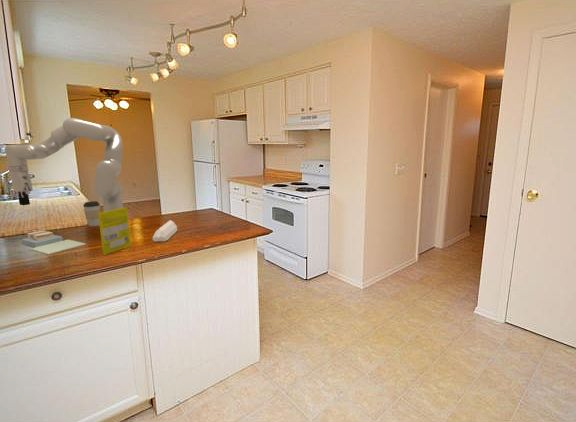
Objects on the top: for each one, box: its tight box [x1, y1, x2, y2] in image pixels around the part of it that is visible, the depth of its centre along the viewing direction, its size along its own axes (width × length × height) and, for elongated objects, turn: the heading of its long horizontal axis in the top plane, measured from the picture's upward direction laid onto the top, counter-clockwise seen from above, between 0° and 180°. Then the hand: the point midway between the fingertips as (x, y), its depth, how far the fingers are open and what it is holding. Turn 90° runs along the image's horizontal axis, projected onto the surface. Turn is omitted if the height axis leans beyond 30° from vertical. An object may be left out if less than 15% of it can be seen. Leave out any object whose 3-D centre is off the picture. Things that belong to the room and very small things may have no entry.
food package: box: [98, 206, 132, 256], centre depth 146 cm, size 15×1×20 cm, turn 159°
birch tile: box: [27, 230, 55, 241], centre depth 159 cm, size 10×7×2 cm
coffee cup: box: [83, 200, 101, 227], centre depth 195 cm, size 9×9×15 cm
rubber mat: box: [30, 239, 87, 255], centre depth 153 cm, size 16×17×1 cm
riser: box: [21, 234, 64, 248], centre depth 159 cm, size 14×12×2 cm
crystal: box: [152, 219, 178, 243], centre depth 171 cm, size 7×7×24 cm
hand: (24, 204), depth 161 cm, fingers closed
